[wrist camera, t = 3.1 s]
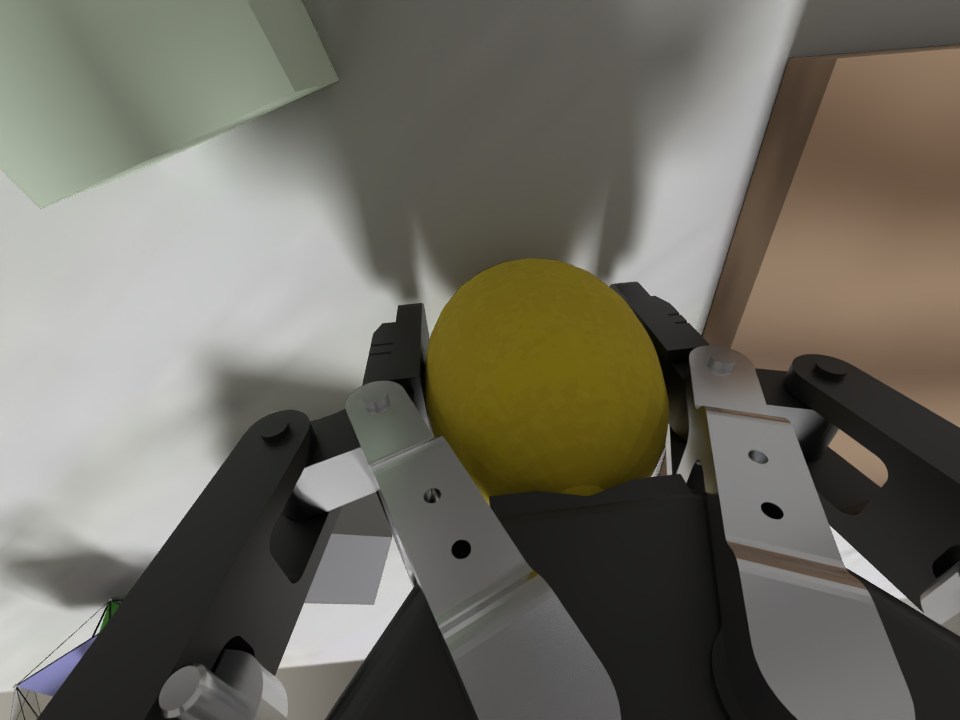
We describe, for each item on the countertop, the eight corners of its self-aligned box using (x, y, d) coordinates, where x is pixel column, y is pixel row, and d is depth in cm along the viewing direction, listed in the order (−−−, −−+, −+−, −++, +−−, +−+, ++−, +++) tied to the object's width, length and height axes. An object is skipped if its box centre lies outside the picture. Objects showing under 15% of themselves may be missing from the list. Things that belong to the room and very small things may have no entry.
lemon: (529, 174, 11) (663, 333, 5) (624, 306, 14) (788, 519, 8) (388, 297, 13) (346, 536, 7) (497, 393, 16) (542, 625, 9)
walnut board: (788, 58, 10) (837, 58, 9) (1313, 15, 11) (1424, 10, 9) (652, 497, 21) (665, 524, 20) (915, 465, 21) (944, 489, 20)
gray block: (271, 433, 16) (231, 527, 13) (399, 448, 17) (391, 537, 14) (272, 508, 19) (240, 601, 16) (383, 516, 20) (373, 604, 17)
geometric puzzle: (172, 601, 18) (-43, 836, 14) (269, 651, 22) (126, 846, 18) (125, 544, 23) (-51, 709, 18) (214, 594, 27) (87, 740, 22)
